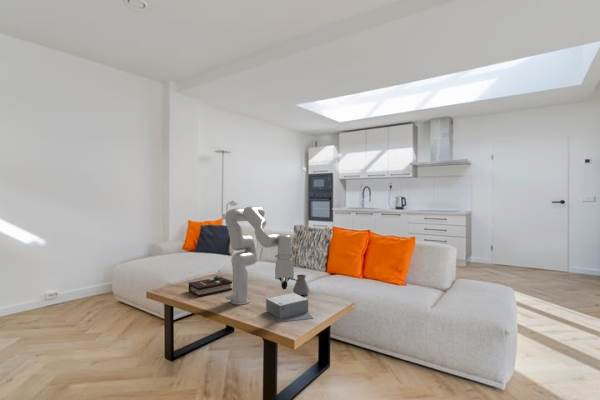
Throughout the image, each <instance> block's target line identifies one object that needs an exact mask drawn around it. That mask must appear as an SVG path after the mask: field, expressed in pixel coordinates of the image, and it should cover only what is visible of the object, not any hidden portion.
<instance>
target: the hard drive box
mask: <svg viewBox="0 0 600 400" xmlns="http://www.w3.org/2000/svg"><path fill="white" fill-rule="evenodd" d="M265 309H266V310H265V311H266V312H268V313H269V314H271V315H272V316H274V317H275V316H276V317H277V318H279V319H282V318H286V317H289V316H293V315H297V314H300V313H304V312H309V299H308V298H306V297H304V296H300V295H297V294H295V293H294V292H291V293H286V294H282V295H277V296H272V297H268V298H266V300H265Z"/></svg>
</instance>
